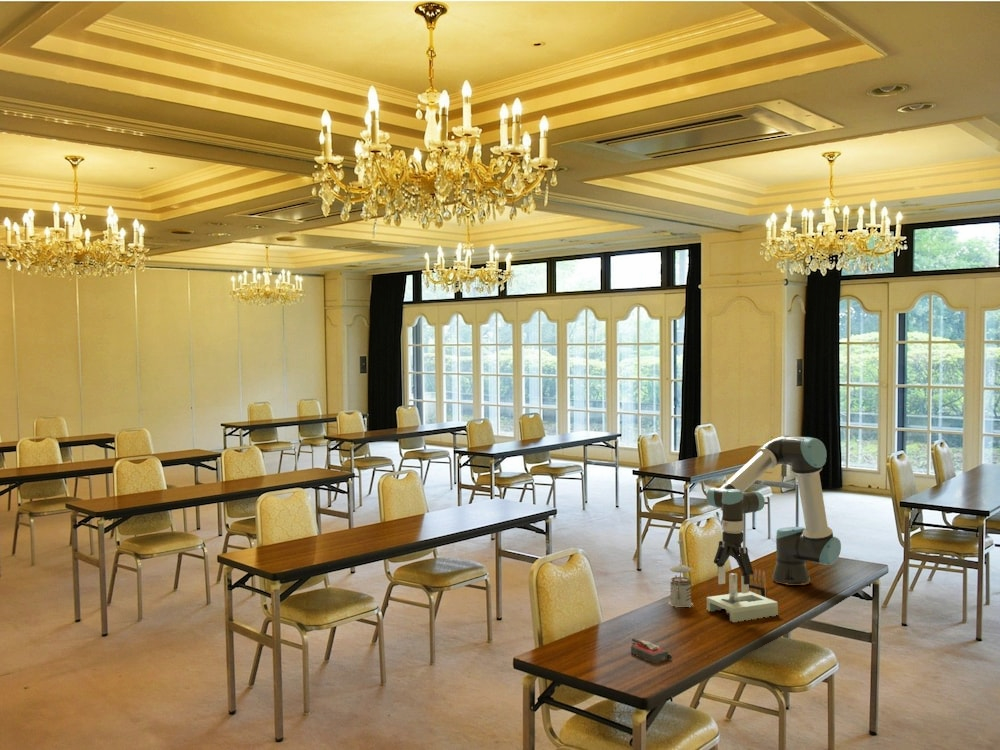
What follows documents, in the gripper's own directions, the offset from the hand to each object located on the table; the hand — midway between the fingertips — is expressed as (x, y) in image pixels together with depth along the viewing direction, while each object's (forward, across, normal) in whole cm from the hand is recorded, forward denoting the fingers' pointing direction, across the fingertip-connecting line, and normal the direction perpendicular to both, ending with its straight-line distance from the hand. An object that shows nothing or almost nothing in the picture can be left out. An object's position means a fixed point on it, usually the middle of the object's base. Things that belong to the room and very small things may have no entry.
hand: (733, 588), depth 304 cm
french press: (+10, -18, -11) cm, 23 cm away
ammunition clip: (+10, -14, +21) cm, 27 cm away
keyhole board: (+10, 0, +4) cm, 10 cm away
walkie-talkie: (+10, +22, -52) cm, 57 cm away
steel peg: (+10, 0, 0) cm, 10 cm away
